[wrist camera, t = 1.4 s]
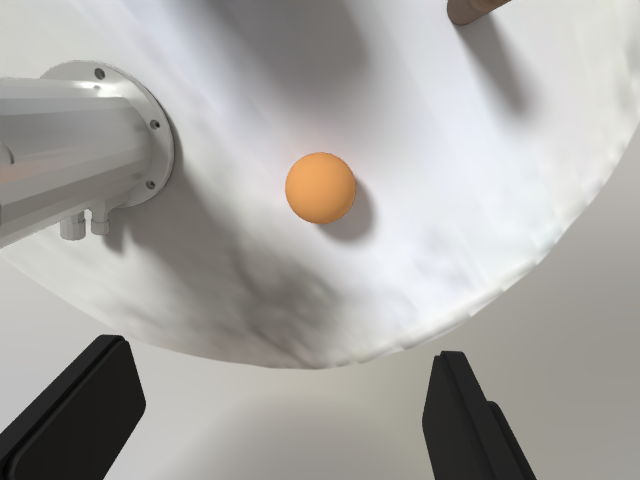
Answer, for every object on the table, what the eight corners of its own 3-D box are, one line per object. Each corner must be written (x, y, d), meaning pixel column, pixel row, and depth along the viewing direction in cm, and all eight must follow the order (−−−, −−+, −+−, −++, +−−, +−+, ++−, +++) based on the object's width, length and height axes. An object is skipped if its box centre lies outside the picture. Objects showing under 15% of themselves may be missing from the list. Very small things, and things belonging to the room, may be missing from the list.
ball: (342, 218, 32) (343, 243, 27) (283, 200, 32) (272, 223, 26) (363, 158, 30) (368, 173, 24) (299, 139, 29) (290, 149, 24)
